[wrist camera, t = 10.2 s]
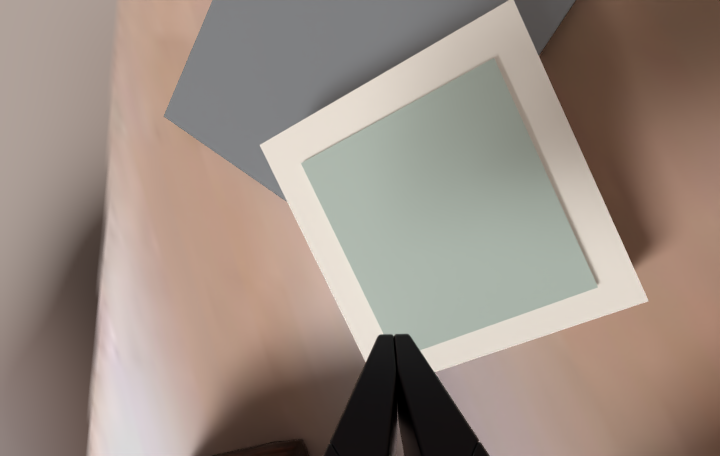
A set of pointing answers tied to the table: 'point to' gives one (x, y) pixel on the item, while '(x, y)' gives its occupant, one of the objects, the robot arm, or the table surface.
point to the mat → (309, 62)
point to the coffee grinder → (272, 449)
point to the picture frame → (455, 201)
